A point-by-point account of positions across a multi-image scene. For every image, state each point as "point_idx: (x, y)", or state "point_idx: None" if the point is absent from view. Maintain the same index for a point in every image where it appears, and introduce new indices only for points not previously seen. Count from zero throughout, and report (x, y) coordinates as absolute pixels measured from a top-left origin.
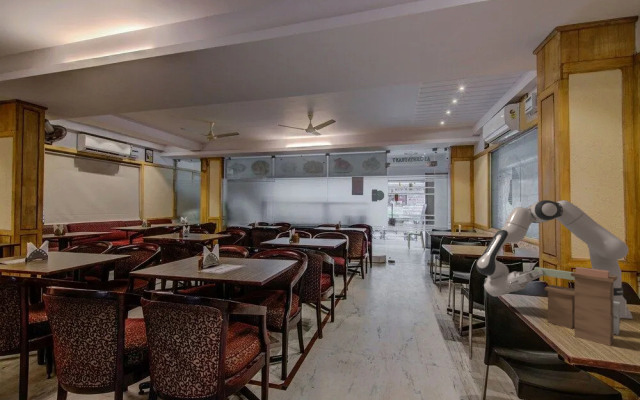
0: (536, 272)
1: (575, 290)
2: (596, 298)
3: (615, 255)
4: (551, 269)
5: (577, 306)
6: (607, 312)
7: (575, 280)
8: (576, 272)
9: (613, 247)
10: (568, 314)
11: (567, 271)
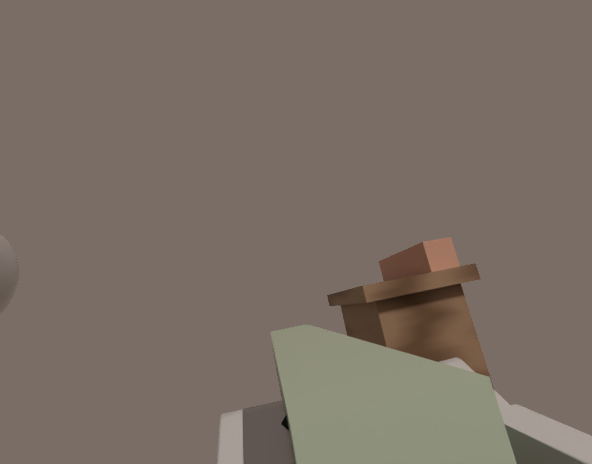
0: (556, 437)
1: (482, 360)
2: None
3: (7, 300)
4: (300, 353)
5: None
6: None
7: (465, 304)
8: (456, 259)
9: (10, 256)
10: None
11: (276, 341)
